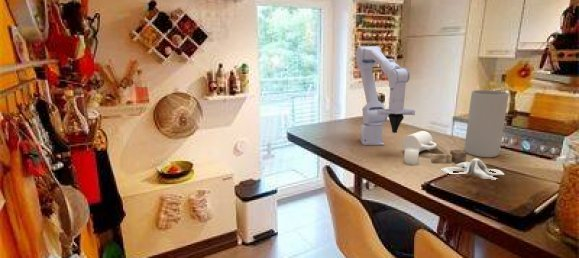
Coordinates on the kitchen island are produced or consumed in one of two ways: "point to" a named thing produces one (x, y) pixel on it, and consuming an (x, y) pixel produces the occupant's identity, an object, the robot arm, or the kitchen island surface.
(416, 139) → the mug
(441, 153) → the dock
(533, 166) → the kitchen island surface
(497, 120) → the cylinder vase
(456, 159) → the walnut block
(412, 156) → the small white cylinder
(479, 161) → the cloth
